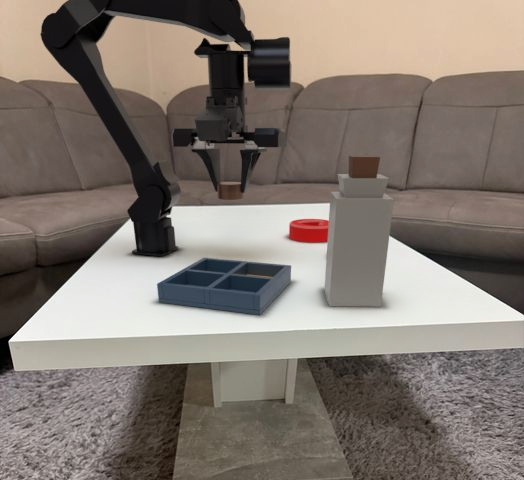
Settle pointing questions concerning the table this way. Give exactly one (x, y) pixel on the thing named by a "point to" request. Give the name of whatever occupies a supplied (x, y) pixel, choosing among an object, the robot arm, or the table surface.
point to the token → (229, 191)
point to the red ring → (309, 230)
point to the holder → (226, 285)
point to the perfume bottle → (358, 235)
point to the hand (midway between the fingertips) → (230, 192)
